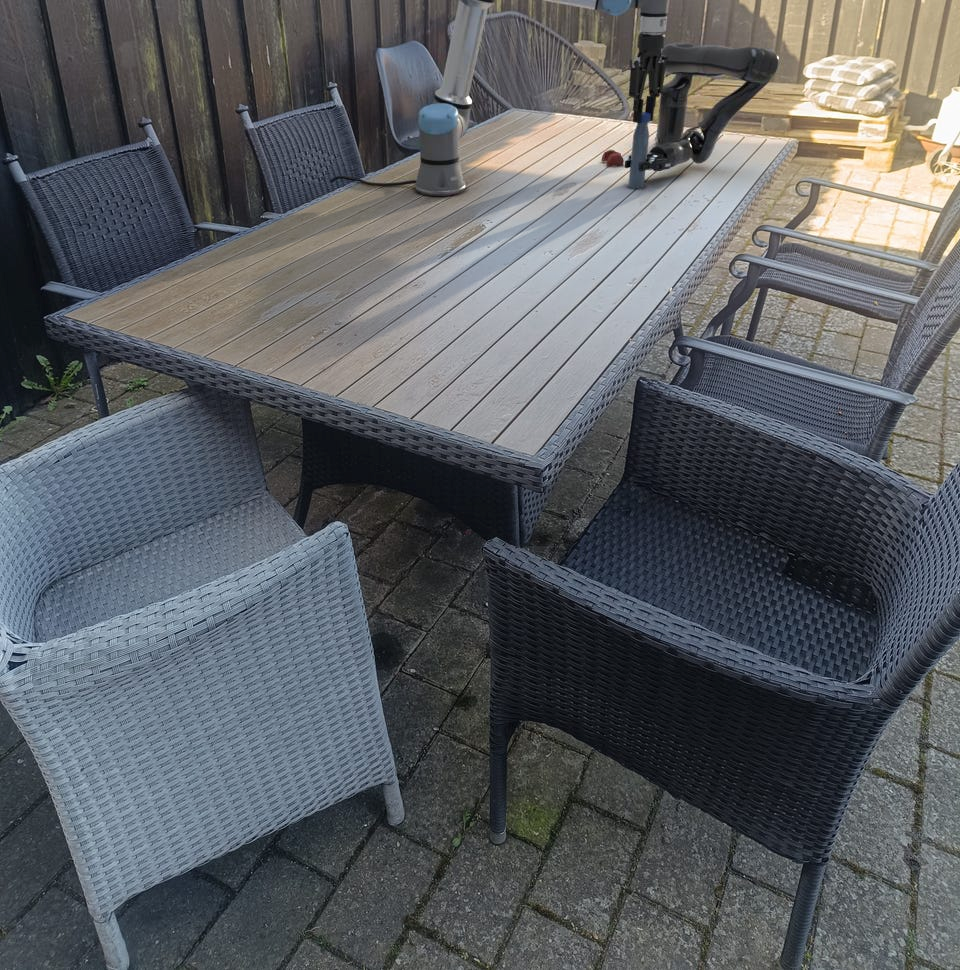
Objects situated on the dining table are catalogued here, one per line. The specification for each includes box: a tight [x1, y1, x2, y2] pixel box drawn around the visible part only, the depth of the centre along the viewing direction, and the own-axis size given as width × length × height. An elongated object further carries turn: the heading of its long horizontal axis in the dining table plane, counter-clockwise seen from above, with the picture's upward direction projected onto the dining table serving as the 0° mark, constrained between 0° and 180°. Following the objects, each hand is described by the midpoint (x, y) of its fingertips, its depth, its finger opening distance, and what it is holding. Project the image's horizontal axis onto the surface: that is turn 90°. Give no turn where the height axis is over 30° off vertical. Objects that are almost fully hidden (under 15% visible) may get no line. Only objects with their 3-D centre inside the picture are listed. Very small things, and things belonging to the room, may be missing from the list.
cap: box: [641, 111, 651, 123], centre depth 249 cm, size 4×4×2 cm
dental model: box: [601, 149, 625, 167], centre depth 281 cm, size 6×4×8 cm
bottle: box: [627, 122, 650, 190], centre depth 255 cm, size 5×5×20 cm
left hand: (642, 121), depth 250 cm, fingers closed on cap, 4 cm apart
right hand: (632, 166), depth 256 cm, fingers closed on bottle, 4 cm apart
